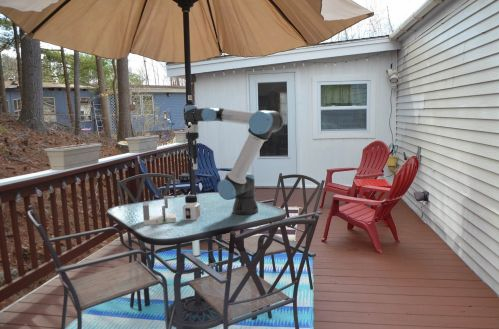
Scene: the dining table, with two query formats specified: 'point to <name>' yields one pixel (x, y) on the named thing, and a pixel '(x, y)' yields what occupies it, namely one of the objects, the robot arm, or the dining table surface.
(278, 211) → the dining table surface
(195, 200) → the container
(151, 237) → the dining table surface
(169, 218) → the gauge base
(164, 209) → the gauge plate
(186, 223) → the dining table surface
